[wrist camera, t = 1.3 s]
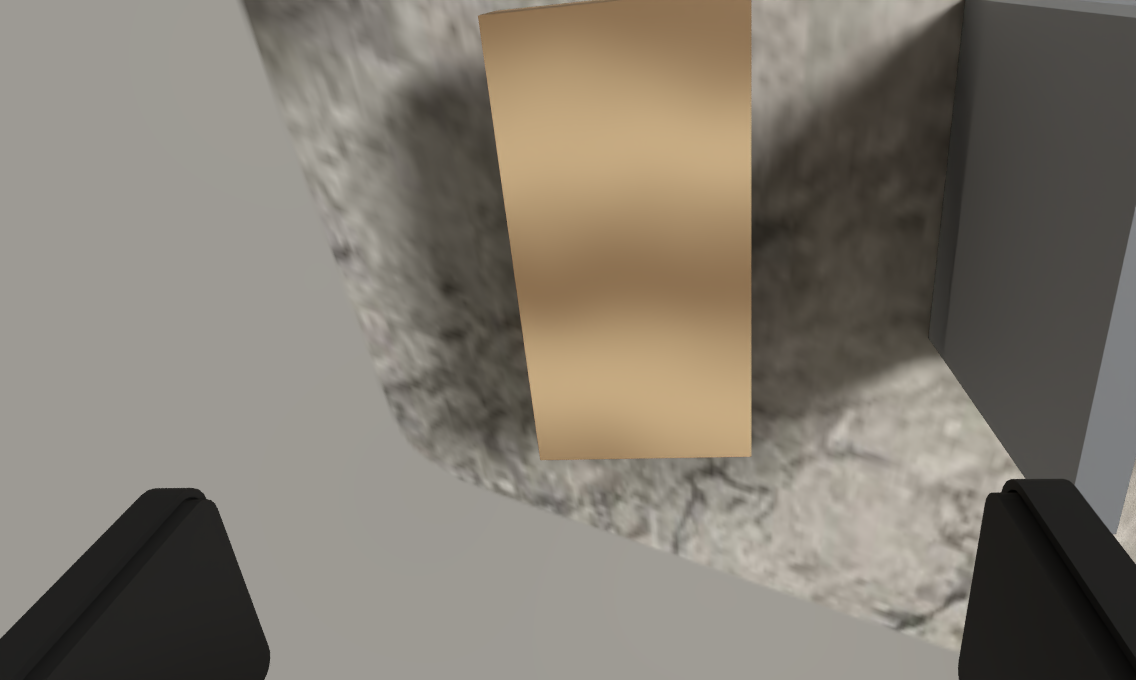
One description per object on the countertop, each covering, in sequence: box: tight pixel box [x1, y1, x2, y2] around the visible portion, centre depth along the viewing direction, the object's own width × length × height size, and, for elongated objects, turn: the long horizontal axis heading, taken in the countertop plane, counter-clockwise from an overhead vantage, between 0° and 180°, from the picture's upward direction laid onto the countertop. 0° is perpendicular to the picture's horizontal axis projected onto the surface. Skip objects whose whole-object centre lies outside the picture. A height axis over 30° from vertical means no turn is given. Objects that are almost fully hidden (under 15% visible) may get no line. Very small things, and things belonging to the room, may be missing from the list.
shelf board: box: [478, 0, 751, 460], centre depth 20 cm, size 12×6×2 cm, turn 6°
